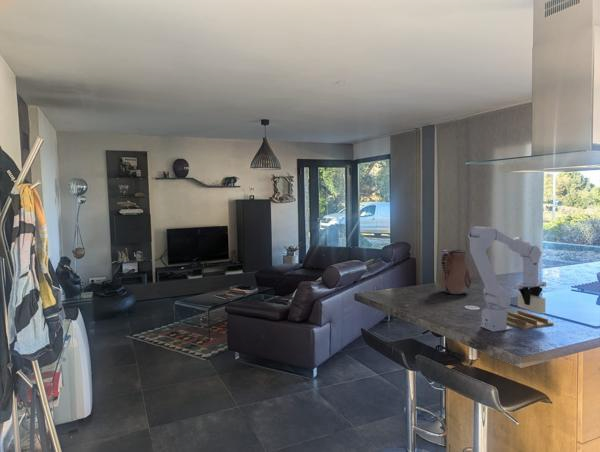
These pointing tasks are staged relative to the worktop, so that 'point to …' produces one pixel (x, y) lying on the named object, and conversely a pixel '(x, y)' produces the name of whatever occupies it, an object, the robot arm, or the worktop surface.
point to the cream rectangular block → (532, 303)
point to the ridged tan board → (526, 320)
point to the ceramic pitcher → (454, 272)
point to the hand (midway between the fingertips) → (530, 304)
